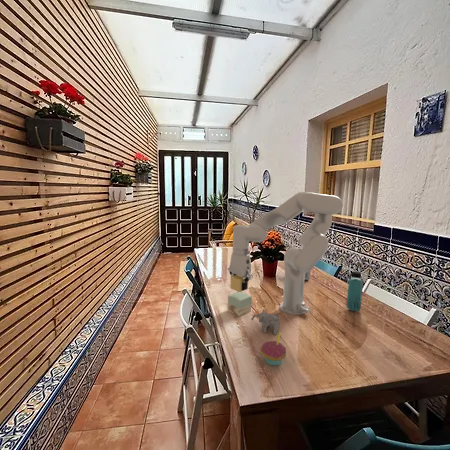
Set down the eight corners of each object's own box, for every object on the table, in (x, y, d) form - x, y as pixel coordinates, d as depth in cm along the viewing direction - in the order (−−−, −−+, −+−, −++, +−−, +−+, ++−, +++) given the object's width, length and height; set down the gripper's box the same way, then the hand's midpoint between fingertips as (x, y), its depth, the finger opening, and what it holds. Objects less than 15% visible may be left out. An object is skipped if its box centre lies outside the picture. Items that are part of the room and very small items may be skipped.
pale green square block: (251, 304, 125) (251, 296, 125) (239, 309, 120) (240, 300, 120) (239, 298, 131) (239, 291, 131) (228, 303, 126) (228, 295, 125)
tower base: (250, 311, 126) (250, 304, 125) (239, 317, 121) (239, 309, 120) (238, 306, 132) (239, 298, 131) (227, 310, 126) (227, 303, 126)
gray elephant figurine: (282, 336, 105) (283, 319, 104) (252, 336, 105) (253, 318, 104) (277, 324, 114) (278, 308, 113) (250, 324, 114) (251, 307, 113)
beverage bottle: (352, 315, 124) (356, 275, 121) (342, 308, 130) (346, 270, 127) (363, 313, 126) (367, 274, 123) (353, 307, 132) (357, 269, 129)
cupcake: (282, 354, 93) (283, 323, 92) (288, 371, 85) (290, 337, 83) (258, 354, 93) (259, 323, 91) (262, 371, 85) (264, 337, 83)
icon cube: (309, 279, 171) (310, 265, 170) (294, 279, 170) (295, 265, 169) (303, 274, 181) (304, 260, 180) (289, 274, 180) (290, 260, 179)
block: (247, 288, 124) (248, 277, 123) (239, 292, 120) (239, 279, 119) (239, 285, 129) (239, 273, 128) (230, 288, 125) (230, 276, 124)
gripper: (259, 253, 118) (258, 291, 121) (233, 246, 130) (232, 280, 133) (248, 256, 113) (247, 295, 116) (222, 248, 125) (221, 284, 128)
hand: (239, 287), depth 124 cm, fingers closed on block, 6 cm apart
